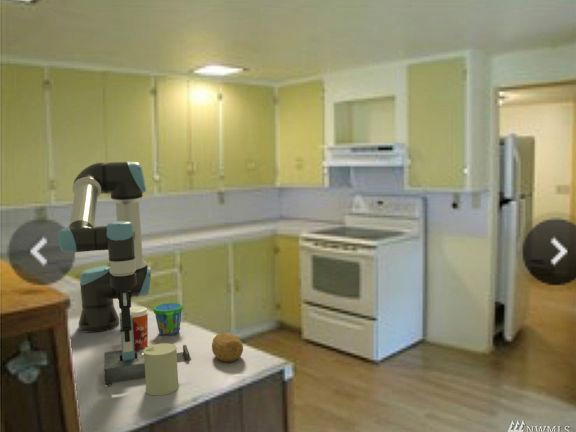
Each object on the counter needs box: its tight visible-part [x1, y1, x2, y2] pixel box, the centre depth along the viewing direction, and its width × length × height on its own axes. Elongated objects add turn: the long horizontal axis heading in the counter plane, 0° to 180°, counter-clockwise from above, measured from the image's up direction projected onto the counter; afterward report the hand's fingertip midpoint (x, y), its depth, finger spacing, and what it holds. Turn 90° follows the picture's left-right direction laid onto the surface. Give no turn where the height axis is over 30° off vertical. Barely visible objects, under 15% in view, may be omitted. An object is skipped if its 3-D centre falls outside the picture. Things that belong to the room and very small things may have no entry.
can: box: [143, 342, 180, 396], centre depth 144 cm, size 9×9×12 cm
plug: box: [118, 312, 135, 361], centre depth 154 cm, size 4×4×14 cm
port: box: [103, 345, 150, 387], centre depth 155 cm, size 14×14×5 cm
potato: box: [211, 332, 244, 363], centre depth 163 cm, size 10×14×8 cm
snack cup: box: [153, 302, 184, 337], centre depth 191 cm, size 16×10×10 cm
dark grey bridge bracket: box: [177, 344, 192, 363], centre depth 165 cm, size 8×8×3 cm
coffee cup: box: [130, 306, 149, 348], centre depth 171 cm, size 8×8×15 cm
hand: (128, 348), depth 155 cm, fingers closed on plug, 4 cm apart
